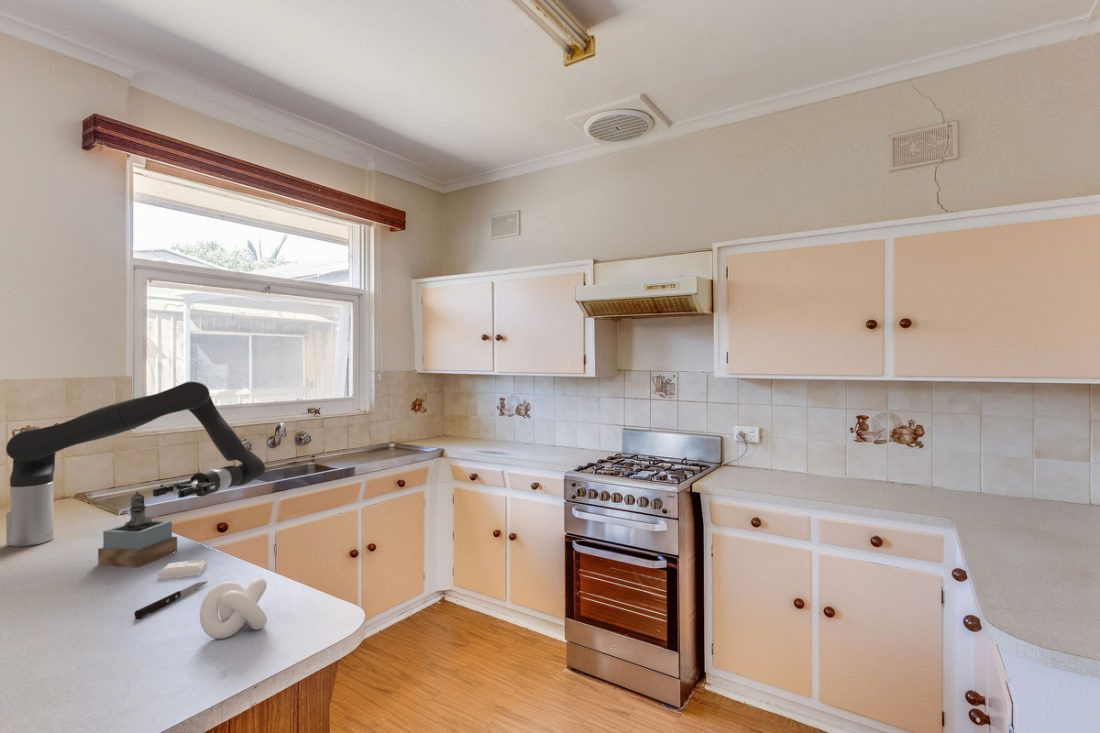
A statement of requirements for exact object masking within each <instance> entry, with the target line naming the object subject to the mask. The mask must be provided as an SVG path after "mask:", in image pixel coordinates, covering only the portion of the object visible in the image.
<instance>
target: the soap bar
mask: <svg viewBox="0 0 1100 733" xmlns="http://www.w3.org/2000/svg"><path fill="white" fill-rule="evenodd" d="M206 567H207V568H208V562H207V561H206V560H203V559H199V560H189V561H188V560H187V561H180V562H179V561H178V562H169V563H168V564H166V566H164V567H163V568H162V569H161V570H160V571H159V572H158V573H157V575H158V576H157V577H158V578H157V579H158V580H165V579H173V578H172V577H175V578H179V577H178V576H185V577H187V576H186V575H195V576H199V575H198V574H201V573H202V572H203V571H204V572H205V571H206V569H207V568H206ZM204 572H203V573H204ZM203 573H202V574H203ZM202 574H201V575H202ZM164 578H165V579H164Z"/></svg>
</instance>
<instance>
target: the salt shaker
mask: <svg viewBox="0 0 1100 733" xmlns="http://www.w3.org/2000/svg"><path fill="white" fill-rule="evenodd" d="M146 508H147V506H146V505H145V496H144V495H143V494H140V492H139V490H138V491H137V490H136V491H135V494H134V495H132V496H131V497H130V508H129V511H130V520H129V521H127V522H125V523H124V524H123V525H125V526H126V528H127V530H128V531H141V530H144V529H147V528H149V526H150V522H151V521H153V519H150V518H147V517H146V516H147V515H146Z"/></svg>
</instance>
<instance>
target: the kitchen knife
mask: <svg viewBox="0 0 1100 733" xmlns="http://www.w3.org/2000/svg"><path fill="white" fill-rule="evenodd" d="M207 583H208V581H207V580H206V581H199V582H196V583H194V584H192V585H190V586H188V587H186V588H184V589H181V590H178V591H176V592H173V593H171V594H169V595H168V596H165V597H162V598H160V599H158V600H157V601H155V602H152V603H150V604H148V605H146V606H144V607H141V608H139V609H136V610H135V611H134V618H135V620H136V619H137V620H138V619H139V620H141V619H142V618H143V617H145V616H147V615H149V614H151V613H155V612H157V611H159V610H161V609H164V608H165V607H167V606H169V605H171V604H172V603H174V602H175V601H177V600H178V599H179V598H180V599H181V598H183V597H185V596H187V595H190V594H191V592H192V591H193V592H196V591H197V590H199V589H201V588H202V587H204V586H205V585H206V584H207ZM193 592H192V593H193ZM184 595H185V596H184ZM182 596H183V597H182ZM180 599H179V600H180Z"/></svg>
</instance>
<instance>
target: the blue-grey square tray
mask: <svg viewBox="0 0 1100 733" xmlns="http://www.w3.org/2000/svg"><path fill="white" fill-rule="evenodd" d="M102 532H103V533H102V535H103V540H102V541H103V547H102V548H104V549H124V550H140V549H143V548H146V547H148V546H151V545H153V544H156V543H159V542H161V541H164V540H167V539H169V538H172V537H173V521H172V520H170V521H169V520H152V521H151V522H150V526H149V528H147V529H144V530H141V531H128V530H127V528H126V526H125V525H124V524H122V525H119V526H116V527H112V528H110V529H106V530H104V531H102Z"/></svg>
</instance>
